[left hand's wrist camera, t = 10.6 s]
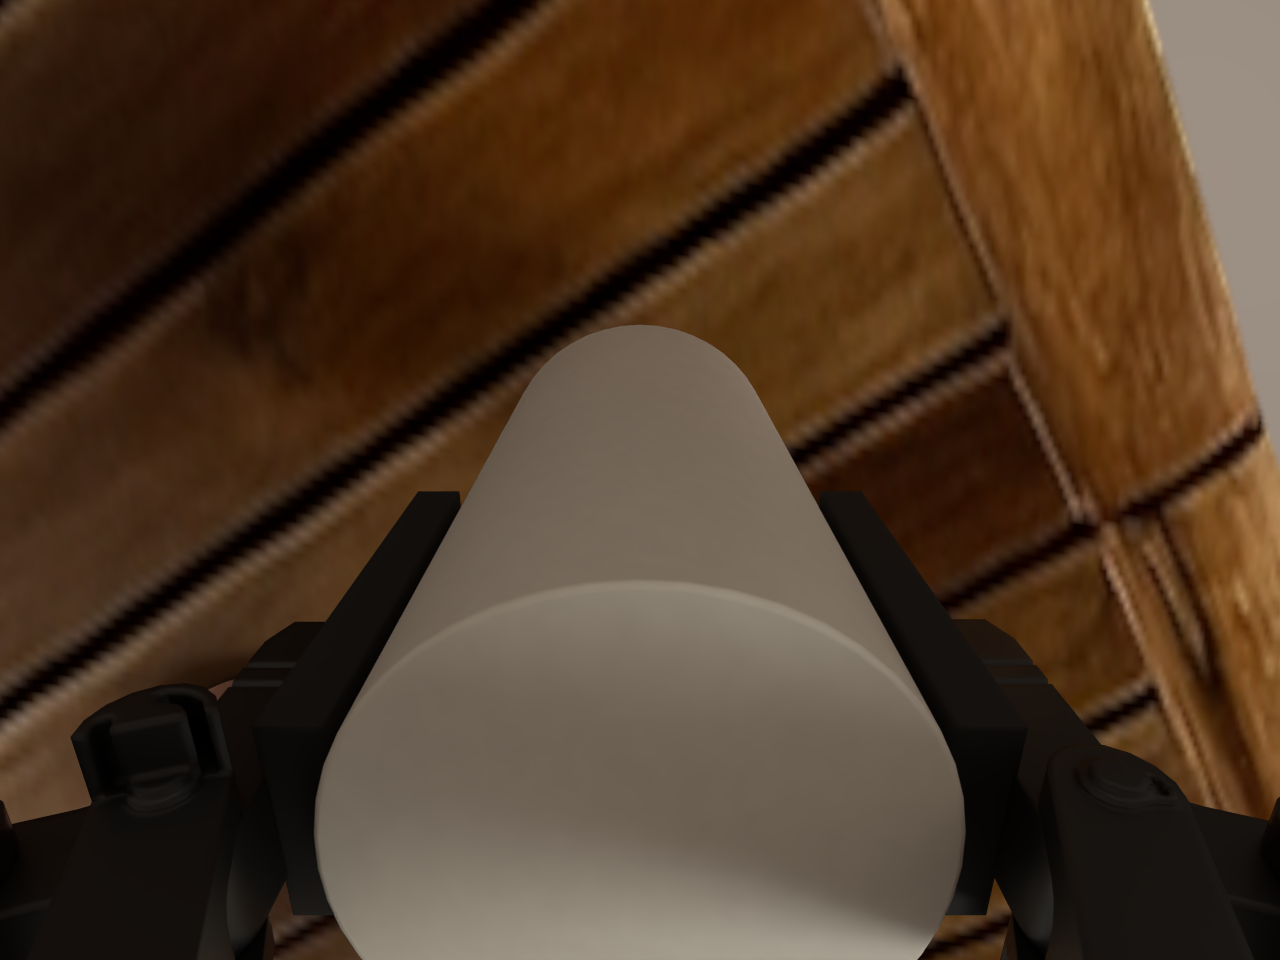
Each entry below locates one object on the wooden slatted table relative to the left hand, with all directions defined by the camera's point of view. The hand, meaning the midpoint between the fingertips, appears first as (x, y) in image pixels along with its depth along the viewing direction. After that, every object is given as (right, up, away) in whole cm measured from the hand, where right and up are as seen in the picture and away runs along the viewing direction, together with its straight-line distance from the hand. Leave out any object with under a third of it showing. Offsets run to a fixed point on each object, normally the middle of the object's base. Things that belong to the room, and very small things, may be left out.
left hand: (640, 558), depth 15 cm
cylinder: (0, +2, +5) cm, 6 cm away
